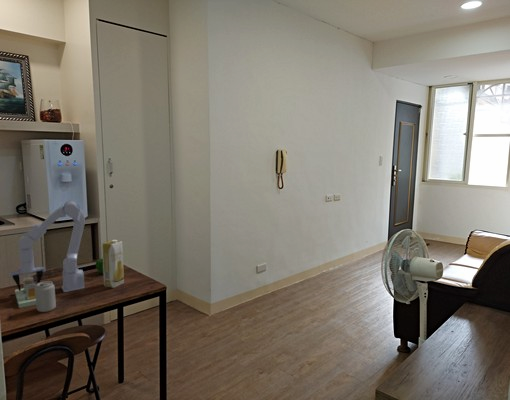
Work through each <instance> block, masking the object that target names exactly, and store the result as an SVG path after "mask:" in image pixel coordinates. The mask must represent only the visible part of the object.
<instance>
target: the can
mask: <svg viewBox="0 0 510 400" xmlns="http://www.w3.org/2000/svg"><path fill="white" fill-rule="evenodd" d="M36 286H37V287H36V288H35V295H36V305H35V307H36V310H37V311H38V312H39V313H48V312H51V311H53V310H54V309H56V307H57V302H56V290H55V289H56V288H55V284H53V281H51V280H47V281H40V283H38V284H37V283H36Z"/></svg>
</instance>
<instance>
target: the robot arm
mask: <svg viewBox="0 0 510 400" xmlns="http://www.w3.org/2000/svg"><path fill="white" fill-rule="evenodd" d="M66 215H67V216H68V217H70V218H71V219H72V221H73V222H74V223H73V227H72V231H71V236H70V240H69V245H68V250H67V252H66V256H65V258H64V259H63V261H62V264H63V265H62V269H63V270H62V271H61V272H62V285H61V289H62V291H63V293H67V292H73V291H77V290H83V289H85V288H86V287H85V276H84V275H85V274H84V271H83V269H79V268H78V264H77V263H78V261H77V260H78V255H79V254H78V253H79V250H80V245H81V241H82V236H83V234H84V233H83V232H84V228H85V223H86V217H85V216H84V213H83V211H82V208H81V207H80V205H79V204H78V203H77V202H76V201H74V200H68V201H66V202H65V203H64V204H62V205H60V206H59V207H58V208H56V209H55V210H54V211H53V212H52V213H51V214H50V215H49V216H48V217H47V218H46V219H44V221H43V222H42V223H36V224H33V225H32V226H31V228H30V229H29V230H28V231H27V232H24V233H23V236H21V237H20V238H19V239H18V242H17V245H18V246H17V247H18V251H19V253H18V254H19V268H20V269H18V270H14V271H13V270H12V271H9V272H8V273H9V277H10V278H12V280H13V281H14V282H15V283H16V286H17V288H18V289H19V291H20V290H21V289H22V288H21V283H20V276H23V275H24V276H25V275H29V274H34V273H35V274H36V285H37V284H38V283H40V282H41V279H42V277H43V275H44V272H46V267H45V266H38V267H37V266H36V267H35V258H34V250H33V244H34V243H36V242H37V241H38V240H39V239H40V238H42V236H44V235H45V234H46V233H47V229H48V228H49V227H50V226H51V225H52V224H53V223H55V222H56V221H57V220H59V219H60V218H64V217H66Z"/></svg>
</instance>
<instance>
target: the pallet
mask: <svg viewBox="0 0 510 400" xmlns="http://www.w3.org/2000/svg"><path fill="white" fill-rule="evenodd" d="M36 287H37V286H36ZM14 295H15V298H16V299H15V300H16V302H17V306H18V309H22V308H26V307H31V306H36V299H31V300H26V293H24V287H23V288H21V290H20V291H19V289H17V288H16V289H15V290H14Z"/></svg>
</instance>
